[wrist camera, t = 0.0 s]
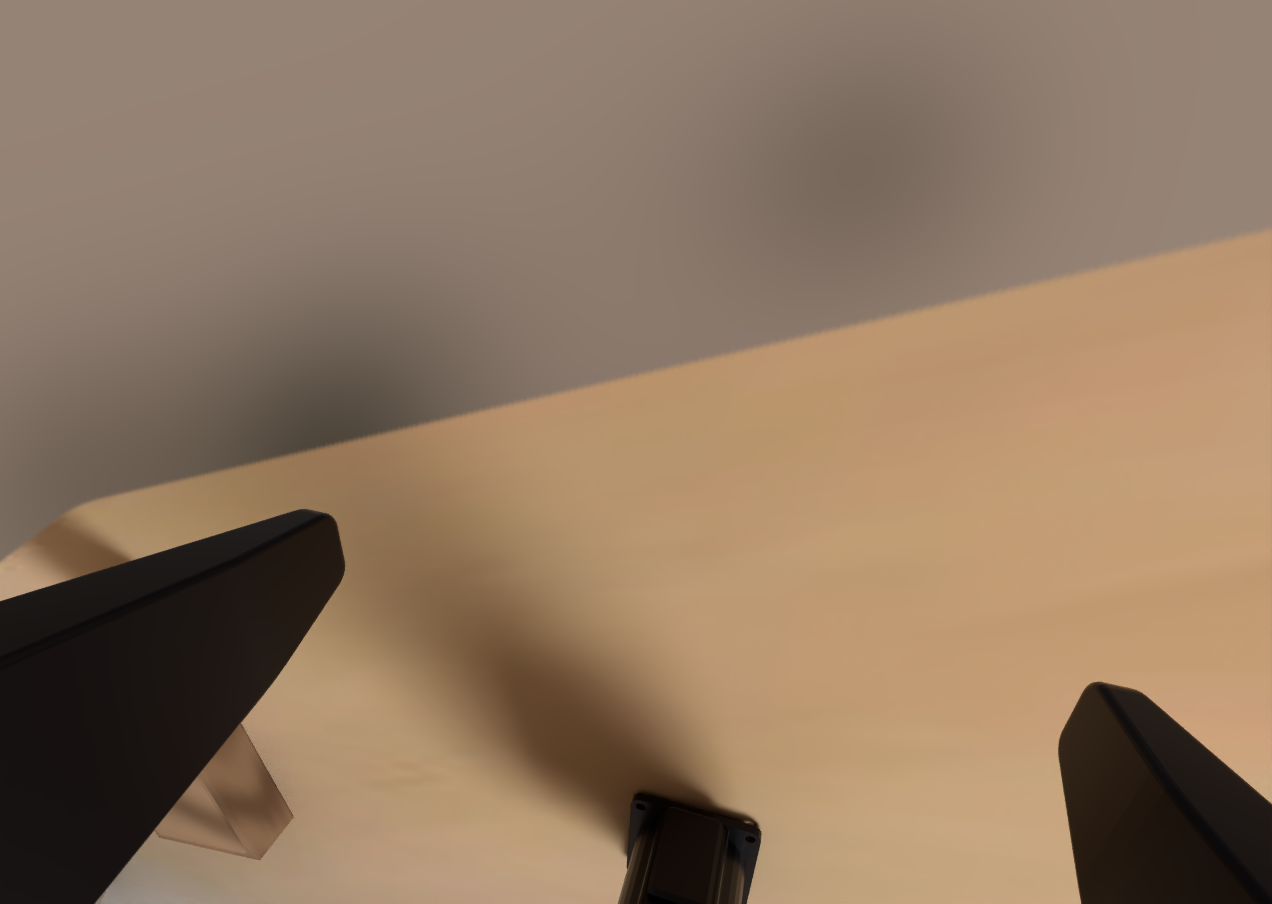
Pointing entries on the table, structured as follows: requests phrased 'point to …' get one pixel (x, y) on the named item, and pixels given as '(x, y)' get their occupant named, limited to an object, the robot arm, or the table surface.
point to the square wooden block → (230, 804)
